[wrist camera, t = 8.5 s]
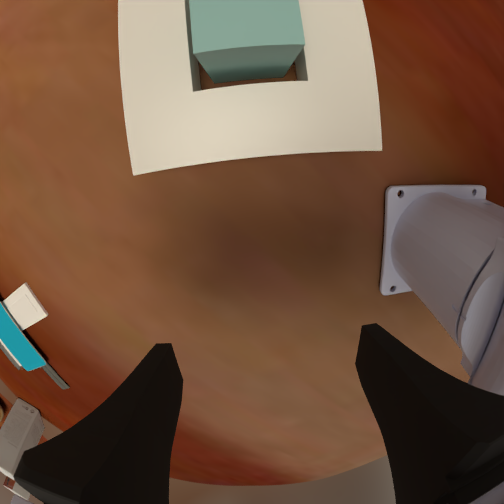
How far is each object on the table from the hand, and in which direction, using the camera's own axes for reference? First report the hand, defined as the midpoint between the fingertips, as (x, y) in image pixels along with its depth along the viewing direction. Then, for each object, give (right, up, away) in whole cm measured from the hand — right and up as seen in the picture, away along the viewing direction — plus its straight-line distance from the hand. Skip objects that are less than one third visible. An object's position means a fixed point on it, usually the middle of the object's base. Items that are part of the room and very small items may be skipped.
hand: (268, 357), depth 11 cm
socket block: (-1, +16, +4) cm, 16 cm away
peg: (-1, +16, +4) cm, 16 cm away
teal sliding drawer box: (-25, -2, +12) cm, 28 cm away
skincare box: (-33, -20, +18) cm, 43 cm away
